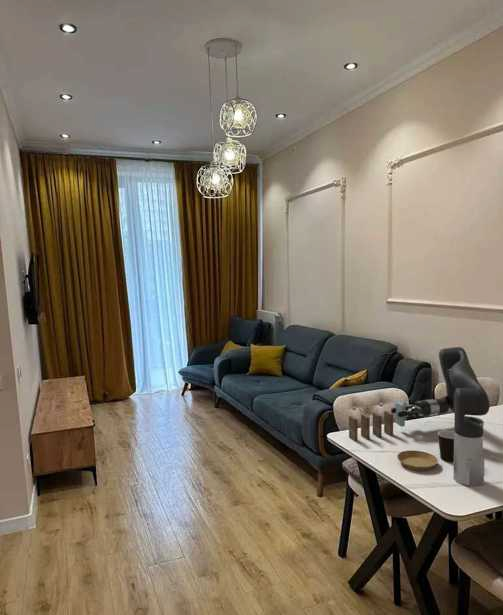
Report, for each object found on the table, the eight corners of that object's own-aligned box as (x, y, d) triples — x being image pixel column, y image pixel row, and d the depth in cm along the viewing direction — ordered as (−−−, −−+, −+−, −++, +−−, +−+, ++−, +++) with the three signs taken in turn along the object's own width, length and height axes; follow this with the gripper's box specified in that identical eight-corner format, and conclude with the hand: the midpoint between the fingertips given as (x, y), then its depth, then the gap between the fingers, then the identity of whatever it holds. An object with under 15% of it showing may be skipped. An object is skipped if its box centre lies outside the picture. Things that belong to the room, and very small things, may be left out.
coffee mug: (447, 465, 172) (447, 439, 172) (432, 456, 181) (433, 431, 180) (472, 460, 176) (473, 436, 175) (457, 452, 184) (457, 428, 183)
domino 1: (352, 436, 203) (352, 415, 202) (357, 440, 198) (357, 418, 197) (349, 437, 202) (348, 415, 201) (354, 441, 198) (354, 419, 197)
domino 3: (375, 433, 206) (375, 412, 205) (381, 437, 201) (381, 415, 200) (372, 433, 205) (372, 412, 204) (378, 437, 201) (378, 416, 200)
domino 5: (398, 422, 209) (398, 401, 208) (404, 426, 205) (404, 404, 204) (395, 423, 209) (395, 402, 208) (401, 426, 204) (401, 405, 203)
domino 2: (364, 435, 204) (364, 413, 203) (369, 439, 200) (369, 417, 199) (360, 435, 204) (360, 414, 203) (366, 439, 199) (366, 417, 198)
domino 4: (387, 431, 208) (387, 410, 207) (393, 435, 203) (393, 414, 202) (384, 432, 207) (384, 411, 206) (390, 436, 203) (390, 414, 202)
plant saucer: (413, 476, 165) (413, 469, 165) (389, 459, 179) (389, 453, 179) (446, 469, 169) (446, 462, 169) (420, 454, 183) (420, 448, 183)
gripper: (436, 421, 204) (404, 426, 199) (416, 411, 217) (385, 415, 213) (437, 404, 203) (404, 409, 198) (416, 396, 216) (385, 400, 212)
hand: (395, 412), depth 205 cm, fingers closed on domino 5, 4 cm apart
